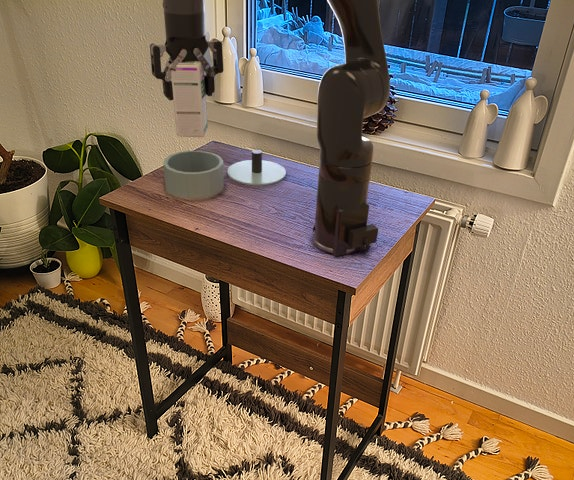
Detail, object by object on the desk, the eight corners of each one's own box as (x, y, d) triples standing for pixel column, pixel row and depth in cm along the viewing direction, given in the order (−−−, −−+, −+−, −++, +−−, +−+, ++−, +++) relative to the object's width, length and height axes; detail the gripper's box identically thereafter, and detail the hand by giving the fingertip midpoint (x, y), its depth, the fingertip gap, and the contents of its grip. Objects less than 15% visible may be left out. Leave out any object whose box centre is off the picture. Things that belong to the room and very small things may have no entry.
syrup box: (204, 137, 119) (200, 64, 110) (175, 136, 119) (169, 63, 110) (208, 128, 123) (204, 57, 115) (180, 127, 123) (175, 56, 115)
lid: (296, 182, 133) (297, 158, 130) (241, 192, 128) (241, 167, 124) (270, 160, 143) (270, 137, 139) (218, 169, 138) (217, 145, 134)
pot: (232, 195, 126) (231, 168, 123) (176, 205, 122) (174, 177, 118) (211, 173, 136) (210, 147, 132) (158, 181, 131) (156, 155, 127)
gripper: (152, 14, 102) (160, 106, 111) (227, 10, 108) (229, 98, 117) (140, 7, 108) (149, 95, 117) (212, 3, 113) (216, 88, 122)
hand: (189, 97), depth 117 cm, fingers closed on syrup box, 7 cm apart
